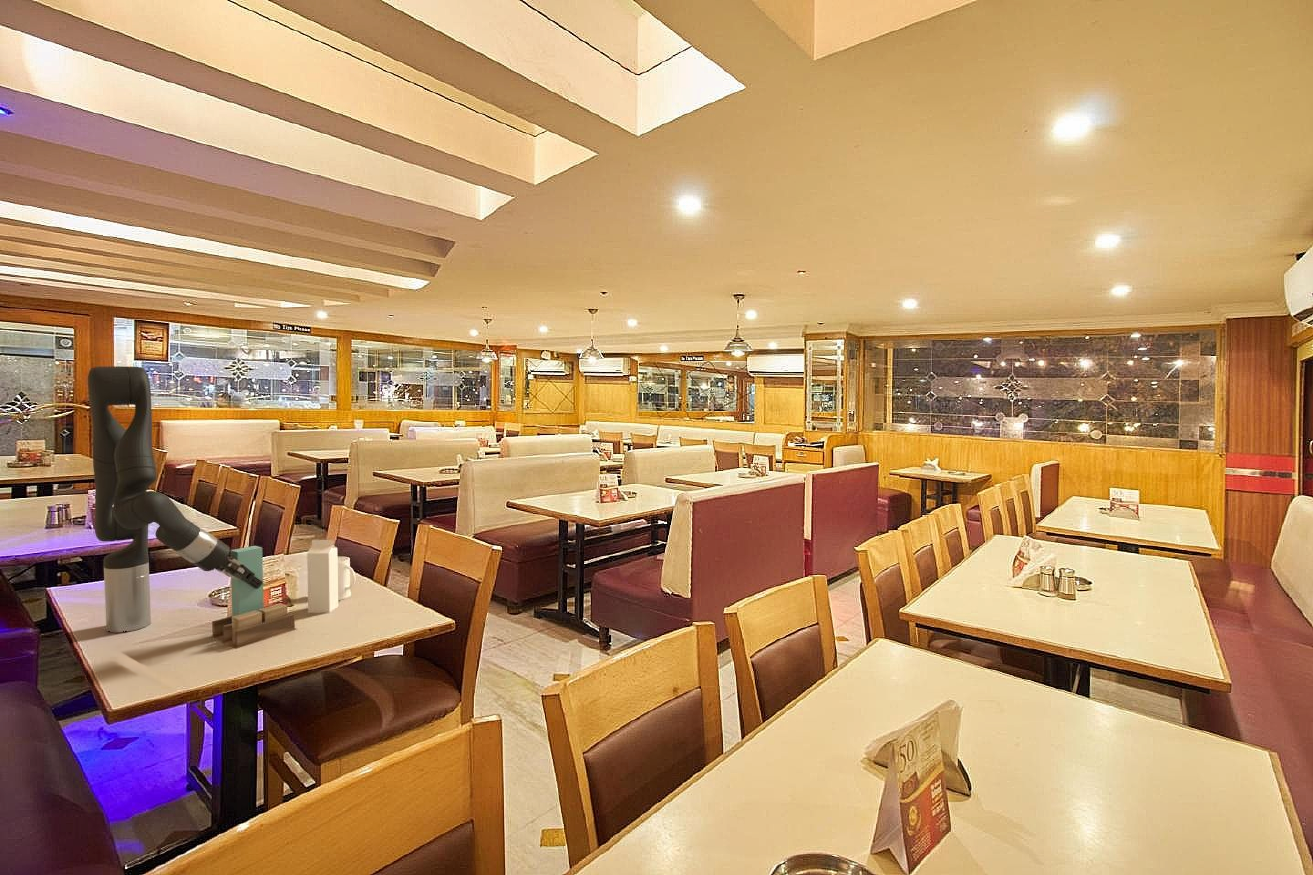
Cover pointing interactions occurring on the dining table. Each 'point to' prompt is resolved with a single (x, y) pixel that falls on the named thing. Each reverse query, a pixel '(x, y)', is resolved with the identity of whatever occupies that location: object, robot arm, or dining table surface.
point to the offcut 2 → (273, 612)
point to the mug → (344, 578)
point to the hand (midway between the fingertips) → (255, 584)
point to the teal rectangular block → (243, 593)
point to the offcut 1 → (245, 621)
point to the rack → (251, 631)
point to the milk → (322, 576)
